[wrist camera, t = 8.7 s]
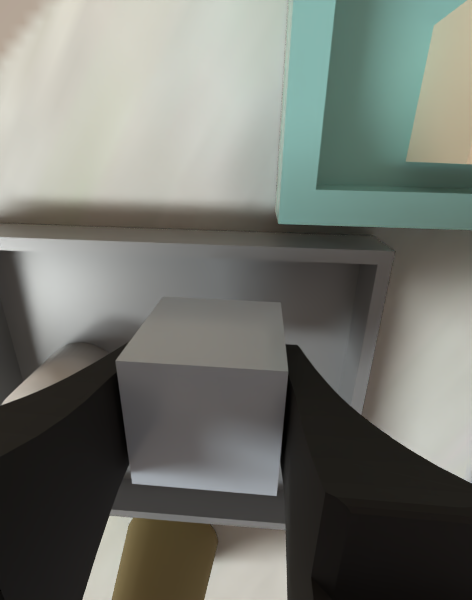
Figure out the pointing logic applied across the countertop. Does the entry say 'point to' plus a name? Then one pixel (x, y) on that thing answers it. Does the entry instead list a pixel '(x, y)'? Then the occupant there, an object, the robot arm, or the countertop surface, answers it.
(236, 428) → the light gray rectangular block
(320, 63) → the dish
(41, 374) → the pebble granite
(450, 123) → the tan rectangular block
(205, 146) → the countertop surface
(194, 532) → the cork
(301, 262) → the tray
